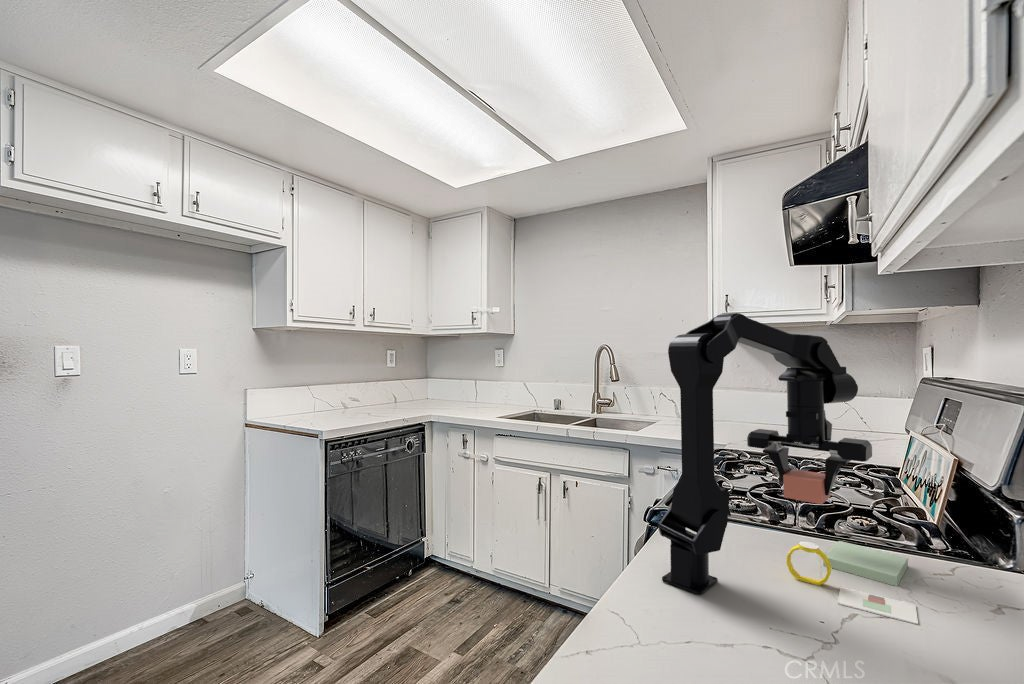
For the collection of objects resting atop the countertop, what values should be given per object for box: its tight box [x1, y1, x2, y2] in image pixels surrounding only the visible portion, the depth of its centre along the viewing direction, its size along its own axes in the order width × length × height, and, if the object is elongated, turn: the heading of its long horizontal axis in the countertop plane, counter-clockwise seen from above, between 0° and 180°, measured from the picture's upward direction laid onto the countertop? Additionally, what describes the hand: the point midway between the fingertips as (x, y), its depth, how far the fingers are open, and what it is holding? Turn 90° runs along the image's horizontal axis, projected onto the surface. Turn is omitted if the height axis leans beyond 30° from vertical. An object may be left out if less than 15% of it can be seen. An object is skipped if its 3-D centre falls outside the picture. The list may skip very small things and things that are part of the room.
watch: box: [786, 541, 832, 587], centre depth 78 cm, size 6×3×6 cm, turn 49°
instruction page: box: [837, 586, 919, 626], centre depth 70 cm, size 6×9×1 cm, turn 53°
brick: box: [782, 468, 832, 505], centre depth 88 cm, size 6×6×4 cm
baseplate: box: [822, 540, 909, 587], centre depth 83 cm, size 10×10×2 cm
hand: (807, 491), depth 88 cm, fingers closed on brick, 6 cm apart
